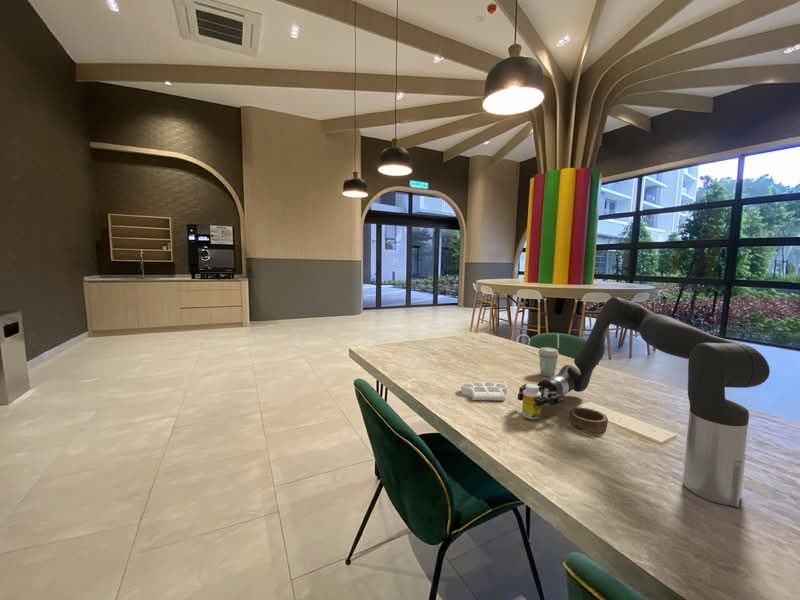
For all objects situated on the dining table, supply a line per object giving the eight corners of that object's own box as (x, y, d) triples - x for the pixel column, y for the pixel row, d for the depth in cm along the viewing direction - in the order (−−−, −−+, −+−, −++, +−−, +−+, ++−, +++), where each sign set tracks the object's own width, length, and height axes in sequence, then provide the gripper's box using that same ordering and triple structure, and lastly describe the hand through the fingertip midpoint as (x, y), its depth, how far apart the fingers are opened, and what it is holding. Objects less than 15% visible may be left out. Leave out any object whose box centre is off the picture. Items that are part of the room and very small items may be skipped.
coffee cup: (539, 370, 159) (540, 346, 158) (558, 373, 155) (560, 348, 153) (536, 375, 152) (537, 350, 150) (556, 379, 147) (558, 352, 146)
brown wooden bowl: (611, 426, 104) (612, 415, 103) (598, 436, 97) (599, 425, 97) (577, 415, 111) (578, 405, 111) (564, 424, 105) (564, 413, 105)
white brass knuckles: (464, 402, 123) (458, 387, 138) (513, 403, 122) (502, 388, 137) (464, 393, 123) (459, 380, 137) (514, 394, 122) (503, 380, 137)
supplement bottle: (533, 421, 105) (534, 390, 104) (518, 415, 110) (519, 385, 109) (544, 417, 108) (545, 386, 107) (529, 411, 113) (530, 381, 112)
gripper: (534, 372, 123) (508, 383, 112) (574, 383, 112) (550, 395, 101) (533, 392, 124) (507, 404, 113) (573, 404, 113) (549, 419, 102)
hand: (527, 400), depth 107 cm, fingers closed on supplement bottle, 5 cm apart
